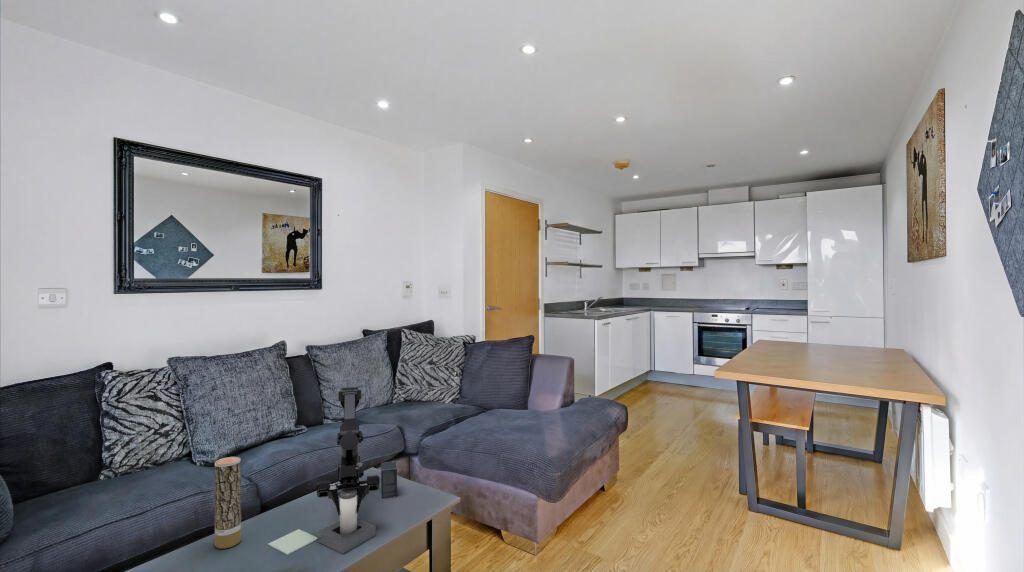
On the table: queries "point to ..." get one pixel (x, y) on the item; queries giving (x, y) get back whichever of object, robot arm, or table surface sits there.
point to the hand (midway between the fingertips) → (348, 514)
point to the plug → (348, 511)
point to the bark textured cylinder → (227, 502)
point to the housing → (343, 544)
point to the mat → (293, 542)
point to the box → (388, 479)
